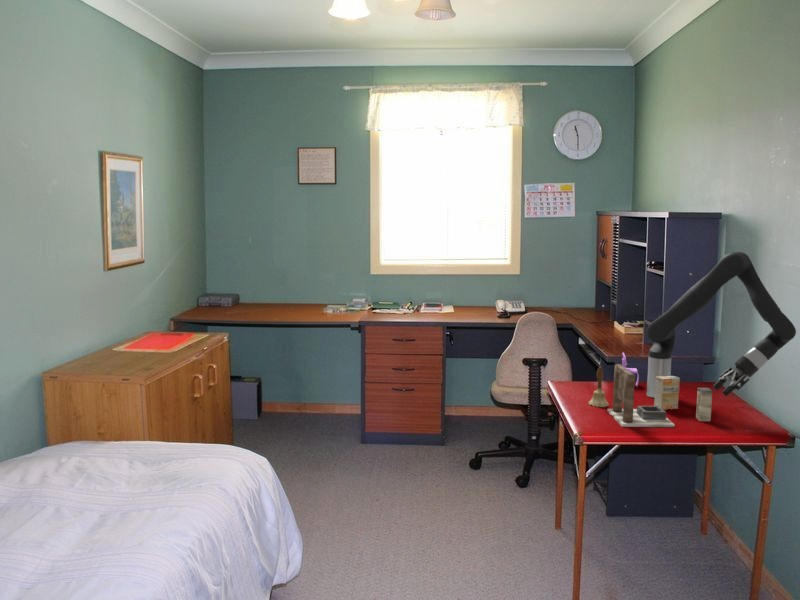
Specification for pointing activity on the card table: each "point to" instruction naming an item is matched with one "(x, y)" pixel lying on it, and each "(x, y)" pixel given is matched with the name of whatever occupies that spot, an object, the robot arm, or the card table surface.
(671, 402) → the supplement box
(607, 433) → the card table surface
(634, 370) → the toy chair
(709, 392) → the rail post
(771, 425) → the card table surface
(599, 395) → the hand bell
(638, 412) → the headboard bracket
